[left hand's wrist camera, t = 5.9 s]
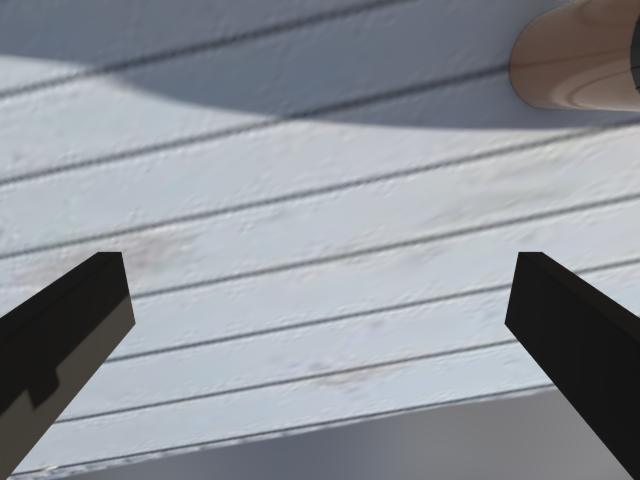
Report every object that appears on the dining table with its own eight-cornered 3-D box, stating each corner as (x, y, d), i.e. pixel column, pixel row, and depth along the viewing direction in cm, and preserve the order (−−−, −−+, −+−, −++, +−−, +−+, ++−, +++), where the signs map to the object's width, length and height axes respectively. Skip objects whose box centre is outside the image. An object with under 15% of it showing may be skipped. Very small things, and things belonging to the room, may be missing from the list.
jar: (491, 55, 35) (628, 19, 20) (574, -16, 33) (800, -120, 18) (538, 127, 38) (694, 146, 22) (619, 64, 36) (854, 35, 20)
